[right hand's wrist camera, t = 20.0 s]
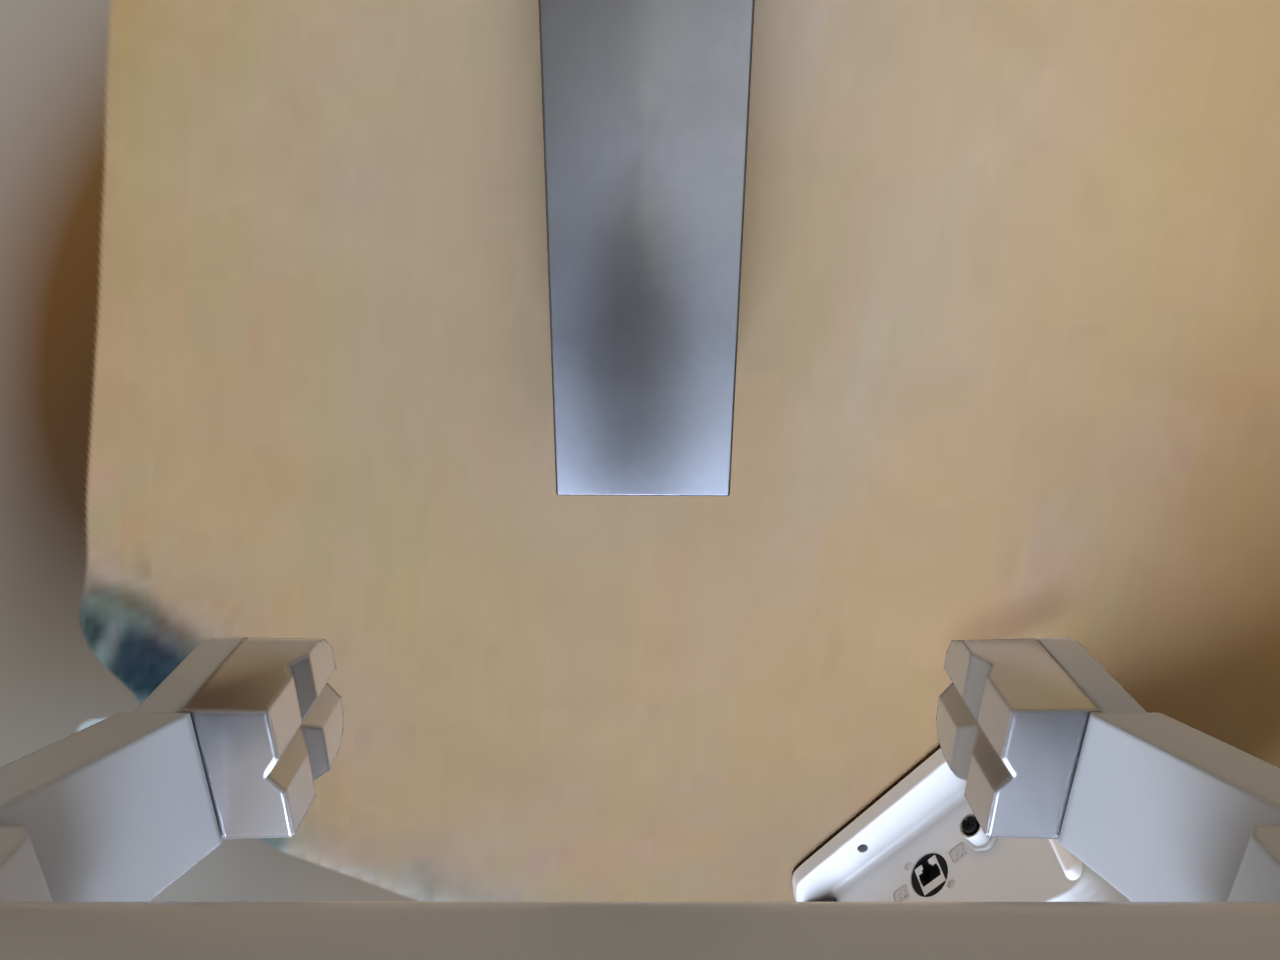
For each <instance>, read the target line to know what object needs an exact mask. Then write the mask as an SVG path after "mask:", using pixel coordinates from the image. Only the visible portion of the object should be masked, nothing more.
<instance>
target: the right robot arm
mask: <svg viewBox="0 0 1280 960" xmlns="http://www.w3.org/2000/svg"><path fill="white" fill-rule="evenodd" d="M335 669H336V664H335V660H334V655H333V650H332V646H331V645H330V644H329V643H328V642H327V641H326V640H325V639H295V638H246V637H221V638H210V639H205V640H203V641H202V642H201V643H200V644H199V645H198V646H197V647H196V648H195V649H194V650H193V651H192V652H191V653H190V654H189V655H188V656H187V657H186V658H185V659H184V660H183V661H182V662H181V663H180V664H179V665H178V666H177V667H176V668H175V670H174V671H173V672H172V673H171V674H170V675H169V676H168V677H167V678H166V679H165V680H164V681H163V682H162V683H161V684H160V685H159V686H158V687H157V688H156V689H155V690H154V691H153V692H152V693H151V694H150V695H149V696H148V697H147V698H146V699H145V700H144V701H143V702H142V703H141V705H140V706H139V707H138V708H137V709H136V710H135V711H134V712H124V713H118V714H116V715H113V716H111V717H109V718H107V719H105V720H103V721H100V722H98V723H96V724H94V725H92V726H90V727H87V728H85V729H83V730H81V731H79V732H77V733H74V734H72V735H70V736H68V737H66V738H64V739H61V740H59V741H57V742H55V743H53V744H51V745H48V746H46V747H44V748H42V749H40V750H38V751H35V752H33V753H31V754H29V755H27V756H25V757H22V758H20V759H18V760H16V761H14V762H12V763H9V764H7V765H5V766H3V767H1V768H0V960H1280V768H1279V767H1277V766H1275V765H1272V764H1270V763H1268V762H1266V761H1264V760H1262V759H1259V758H1257V757H1255V756H1253V755H1251V754H1249V753H1247V752H1244V751H1242V750H1240V749H1238V748H1236V747H1234V746H1231V745H1229V744H1227V743H1225V742H1223V741H1221V740H1218V739H1216V738H1214V737H1212V736H1210V735H1208V734H1205V733H1203V732H1201V731H1199V730H1197V729H1195V728H1192V727H1190V726H1188V725H1186V724H1184V723H1182V722H1179V721H1177V720H1175V719H1173V718H1171V717H1169V716H1167V715H1164V714H1162V713H1158V712H1146V711H1145V710H1144V709H1143V708H1142V706H1141V705H1140V704H1139V703H1138V702H1137V701H1136V700H1135V699H1134V698H1133V697H1132V696H1131V695H1130V694H1129V693H1128V692H1127V691H1126V690H1125V689H1124V688H1123V687H1122V686H1121V685H1120V684H1119V683H1118V682H1117V681H1116V680H1115V679H1114V678H1113V677H1112V676H1111V675H1110V673H1109V672H1108V671H1107V670H1106V669H1105V668H1104V667H1103V666H1102V665H1101V664H1100V663H1099V662H1098V661H1097V660H1096V659H1095V658H1094V657H1093V656H1092V655H1091V654H1090V653H1089V652H1088V651H1087V650H1086V649H1085V648H1084V647H1083V646H1082V645H1081V644H1080V643H1079V642H1078V641H1077V640H1074V639H1072V638H1069V637H1049V638H1029V639H990V640H952V641H951V644H950V646H949V648H948V650H947V653H946V658H945V664H944V669H945V671H946V672H947V674H948V675H949V677H950V679H951V680H952V682H953V683H952V684H951V685H950V686H949V687H948V688H947V689H946V690H945V691H944V692H943V693H942V694H941V695H940V696H939V701H938V709H937V717H936V720H937V731H938V740H939V744H940V747H941V748H940V749H939V750H937V751H936V752H935V753H934V754H933V755H931V756H930V757H929V758H928V759H927V760H925V761H924V762H923V763H922V764H921V765H919V766H918V767H917V768H916V769H915V770H914V771H912V772H911V773H910V774H909V775H908V776H906V777H905V778H904V779H903V780H902V781H900V782H899V783H898V784H897V785H896V786H894V787H893V788H892V789H891V790H890V791H888V792H887V793H886V794H885V795H884V796H882V797H881V798H880V799H879V800H878V801H876V802H875V803H874V804H873V805H872V806H871V807H869V808H868V809H867V810H866V811H865V812H863V813H862V814H861V815H860V816H859V817H857V818H856V819H855V820H854V821H853V822H851V823H850V824H849V825H848V826H847V827H845V828H844V829H843V830H842V831H841V832H839V833H838V834H837V835H836V836H835V837H834V838H832V839H831V840H830V841H829V842H828V843H826V844H825V845H824V846H823V847H822V848H820V849H819V850H818V851H817V852H816V853H814V854H813V855H812V856H811V857H810V858H809V859H807V860H806V861H805V862H804V863H803V864H802V865H800V866H799V867H798V868H797V869H796V870H795V872H794V873H793V876H792V887H793V894H794V897H795V901H796V902H149V901H150V900H151V899H153V898H154V897H155V896H156V895H158V894H159V893H160V892H161V891H163V890H164V889H165V888H166V887H167V886H169V885H170V884H171V883H172V882H174V881H175V880H176V879H177V878H179V877H180V876H181V875H182V874H184V873H185V872H186V871H187V870H189V869H190V868H191V867H192V866H194V865H195V864H196V863H197V862H199V861H200V860H201V859H202V858H204V857H205V856H206V855H207V854H209V853H210V852H211V851H212V850H214V849H215V848H216V847H217V846H219V845H220V844H221V843H222V839H241V838H276V837H294V835H295V834H296V832H297V830H298V828H299V826H300V824H301V822H302V821H303V819H304V817H305V815H306V813H307V811H308V809H309V808H310V806H311V804H312V802H313V800H314V798H315V796H316V793H315V788H314V782H313V781H314V780H315V779H317V778H318V777H320V776H321V775H323V774H324V773H326V772H327V771H328V770H330V768H331V766H332V764H333V762H334V760H335V758H336V756H337V754H338V751H339V747H340V742H341V738H342V733H343V707H342V700H341V696H340V695H339V694H338V693H337V692H336V691H335V690H334V689H333V688H332V687H331V686H330V685H329V684H328V683H327V682H328V680H329V679H330V677H331V675H332V674H333V672H334V671H335Z"/></svg>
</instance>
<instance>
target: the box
mask: <svg viewBox="0 0 1280 960" xmlns="http://www.w3.org/2000/svg"><path fill="white" fill-rule="evenodd" d="M754 5H755V0H539V26H540V54H541V82H542V109H543V137H544V165H545V193H546V221H547V248H548V276H549V304H550V332H551V360H552V388H553V415H554V443H555V471H556V493H557V495H645V496H729V494H730V480H731V460H732V440H733V421H734V401H735V381H736V361H737V341H738V321H739V302H740V282H741V262H742V242H743V222H744V203H745V183H746V163H747V143H748V123H749V104H750V84H751V64H752V44H753V24H754Z"/></svg>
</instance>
